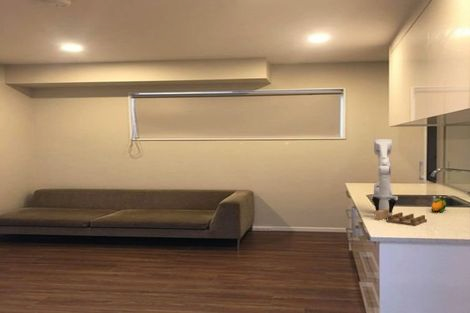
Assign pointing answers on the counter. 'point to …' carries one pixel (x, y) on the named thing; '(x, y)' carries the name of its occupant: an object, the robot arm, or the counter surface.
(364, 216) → the counter surface
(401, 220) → the drying rack
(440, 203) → the corn
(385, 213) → the clay bar
